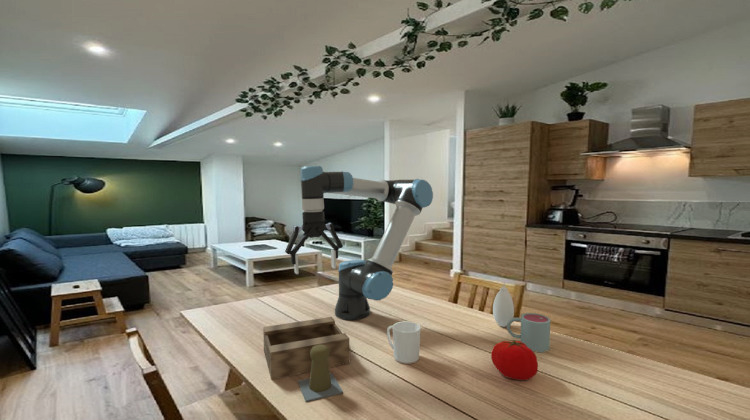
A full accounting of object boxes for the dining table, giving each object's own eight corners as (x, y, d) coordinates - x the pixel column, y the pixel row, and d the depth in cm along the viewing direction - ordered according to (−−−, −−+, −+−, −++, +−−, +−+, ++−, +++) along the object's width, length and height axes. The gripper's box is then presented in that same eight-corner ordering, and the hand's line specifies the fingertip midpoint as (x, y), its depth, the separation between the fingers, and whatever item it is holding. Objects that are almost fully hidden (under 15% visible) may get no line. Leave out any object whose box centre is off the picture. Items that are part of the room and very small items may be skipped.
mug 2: (548, 343, 124) (549, 315, 124) (549, 354, 116) (550, 324, 115) (507, 336, 130) (508, 309, 129) (505, 346, 122) (506, 318, 121)
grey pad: (332, 374, 104) (332, 373, 104) (342, 393, 94) (342, 391, 94) (297, 382, 100) (297, 380, 100) (305, 402, 90) (305, 400, 90)
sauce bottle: (491, 328, 137) (492, 282, 136) (493, 321, 144) (494, 277, 143) (513, 331, 134) (514, 284, 133) (513, 323, 141) (515, 279, 140)
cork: (326, 393, 94) (326, 353, 93) (305, 390, 95) (304, 350, 94) (334, 380, 100) (333, 342, 99) (313, 378, 101) (313, 341, 100)
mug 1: (422, 353, 116) (423, 323, 116) (417, 367, 108) (417, 334, 107) (390, 348, 120) (390, 319, 119) (382, 361, 112) (382, 329, 111)
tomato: (534, 390, 96) (535, 354, 95) (486, 377, 102) (487, 342, 102) (540, 372, 105) (541, 338, 104) (496, 361, 112) (496, 329, 111)
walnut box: (331, 338, 128) (331, 316, 128) (349, 363, 110) (349, 338, 110) (263, 350, 119) (263, 327, 118) (271, 379, 101) (270, 352, 100)
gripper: (342, 207, 132) (344, 263, 134) (274, 212, 121) (277, 272, 123) (350, 209, 125) (352, 267, 127) (279, 214, 114) (282, 278, 116)
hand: (315, 270), depth 125 cm, fingers open, 13 cm apart
